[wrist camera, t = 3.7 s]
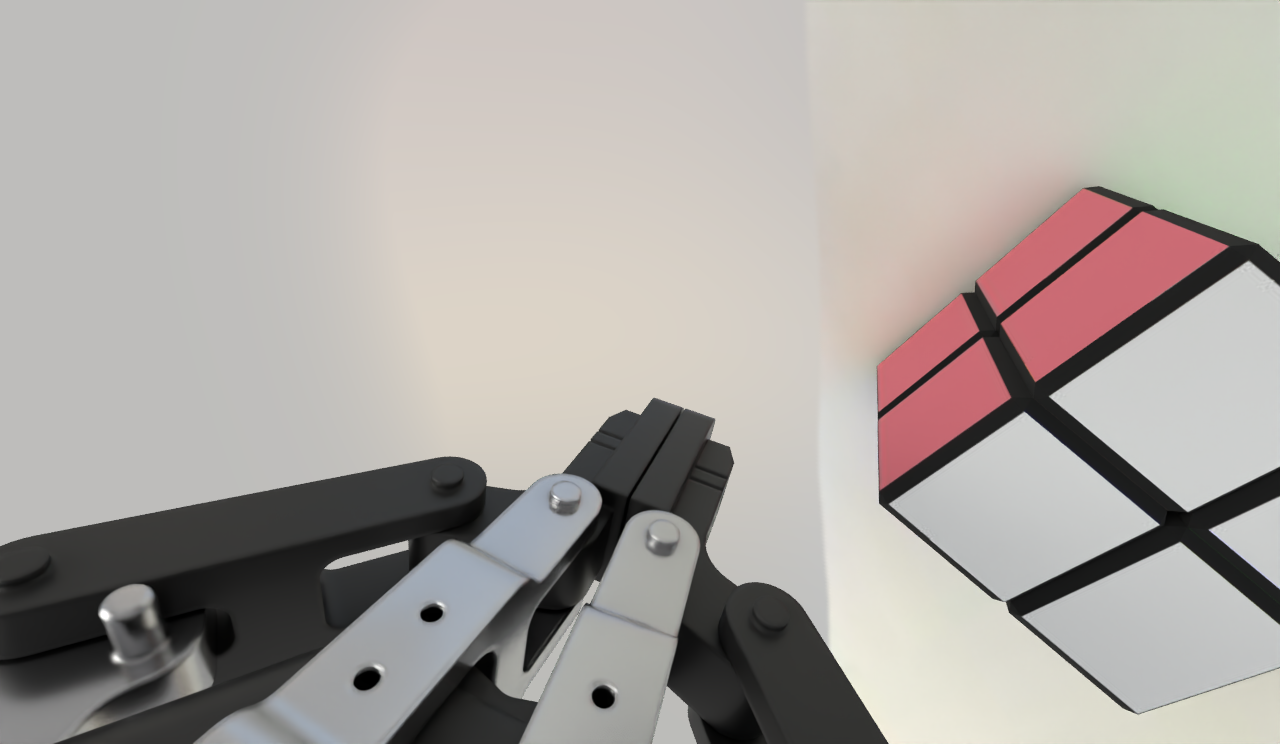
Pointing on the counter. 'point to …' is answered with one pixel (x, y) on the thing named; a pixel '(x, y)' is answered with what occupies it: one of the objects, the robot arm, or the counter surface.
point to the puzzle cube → (1105, 445)
